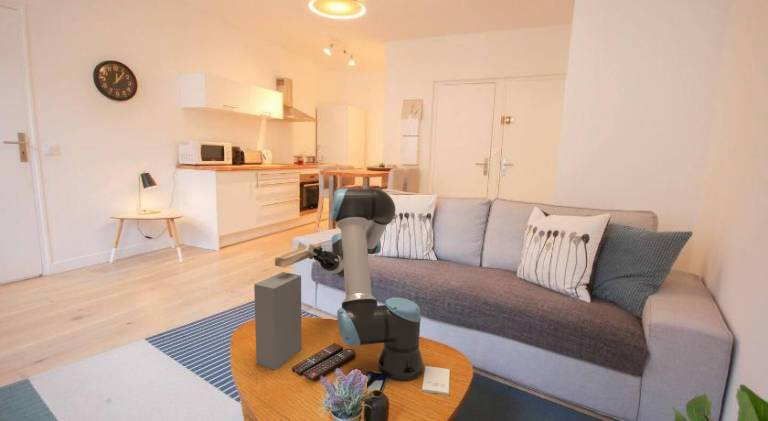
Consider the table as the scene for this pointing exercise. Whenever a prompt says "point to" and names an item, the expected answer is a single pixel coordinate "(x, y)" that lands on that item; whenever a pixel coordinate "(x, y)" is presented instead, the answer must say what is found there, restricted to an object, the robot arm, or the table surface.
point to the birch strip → (294, 256)
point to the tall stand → (278, 319)
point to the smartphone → (376, 380)
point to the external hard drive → (436, 380)
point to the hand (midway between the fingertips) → (302, 246)
